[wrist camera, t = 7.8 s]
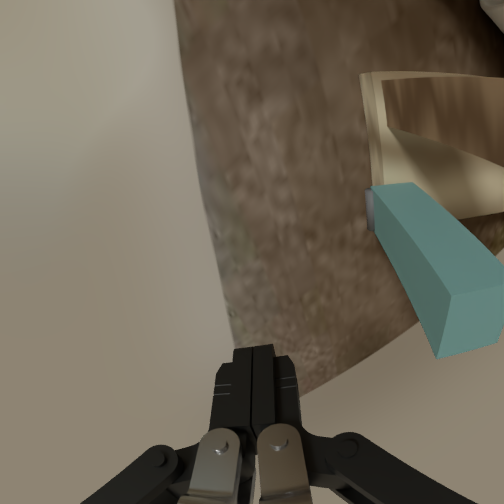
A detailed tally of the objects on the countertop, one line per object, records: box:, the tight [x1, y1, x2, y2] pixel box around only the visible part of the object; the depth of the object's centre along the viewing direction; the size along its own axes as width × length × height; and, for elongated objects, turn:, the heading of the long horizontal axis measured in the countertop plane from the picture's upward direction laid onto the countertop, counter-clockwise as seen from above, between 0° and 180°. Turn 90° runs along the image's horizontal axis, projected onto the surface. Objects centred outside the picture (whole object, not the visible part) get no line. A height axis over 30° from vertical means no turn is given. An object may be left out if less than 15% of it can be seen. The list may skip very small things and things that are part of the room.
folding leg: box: [365, 182, 504, 359], centre depth 17 cm, size 4×4×14 cm
